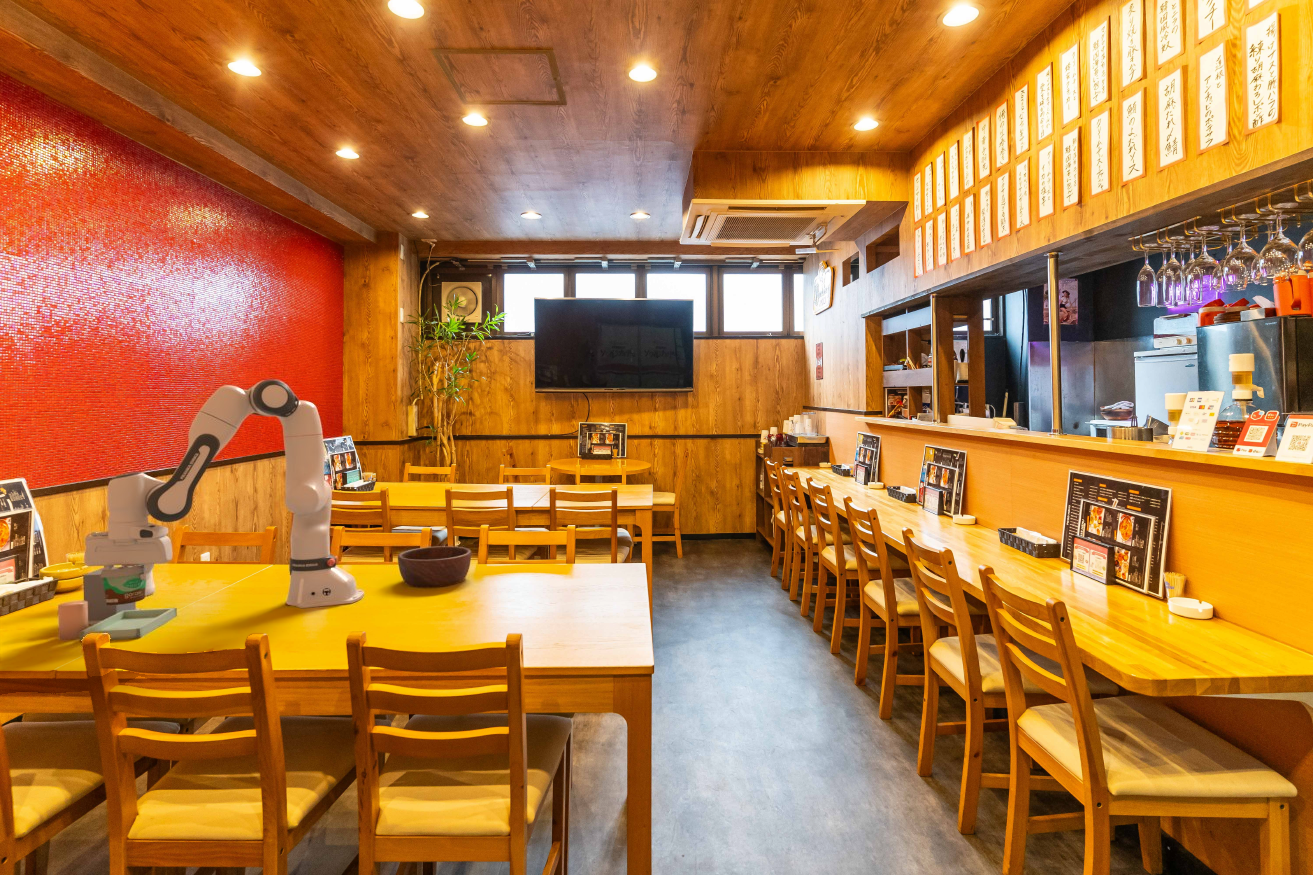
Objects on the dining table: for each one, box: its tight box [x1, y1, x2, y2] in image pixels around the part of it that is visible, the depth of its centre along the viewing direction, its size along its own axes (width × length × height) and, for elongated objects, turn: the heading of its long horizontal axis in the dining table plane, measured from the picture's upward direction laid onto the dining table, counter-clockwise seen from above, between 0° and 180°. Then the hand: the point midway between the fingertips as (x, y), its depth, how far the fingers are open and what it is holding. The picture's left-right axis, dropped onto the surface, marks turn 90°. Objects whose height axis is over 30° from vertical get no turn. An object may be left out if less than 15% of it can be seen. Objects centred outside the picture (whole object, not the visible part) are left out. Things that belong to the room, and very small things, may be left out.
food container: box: [100, 564, 147, 605], centre depth 188 cm, size 12×6×10 cm, turn 169°
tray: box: [78, 607, 178, 643], centre depth 188 cm, size 14×20×2 cm
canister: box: [57, 600, 89, 642], centre depth 181 cm, size 6×6×9 cm
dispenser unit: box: [82, 566, 142, 626], centre depth 197 cm, size 10×12×14 cm
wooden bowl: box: [397, 545, 472, 588], centre depth 241 cm, size 25×25×10 cm
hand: (129, 580), depth 187 cm, fingers closed on food container, 6 cm apart
